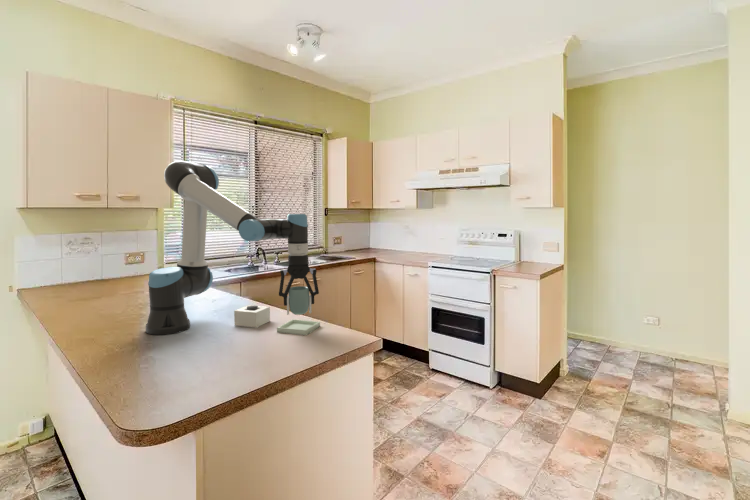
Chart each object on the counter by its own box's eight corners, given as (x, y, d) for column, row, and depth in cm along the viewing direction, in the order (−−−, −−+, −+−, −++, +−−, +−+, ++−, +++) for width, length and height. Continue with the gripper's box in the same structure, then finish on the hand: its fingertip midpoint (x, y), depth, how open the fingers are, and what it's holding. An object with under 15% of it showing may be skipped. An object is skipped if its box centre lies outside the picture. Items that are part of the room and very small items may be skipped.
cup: (290, 317, 146) (289, 290, 146) (287, 312, 154) (287, 286, 153) (311, 315, 149) (310, 289, 148) (307, 310, 156) (307, 285, 155)
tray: (277, 332, 148) (276, 327, 148) (292, 323, 160) (292, 319, 159) (306, 335, 145) (306, 330, 144) (320, 326, 156) (320, 321, 156)
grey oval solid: (245, 322, 159) (244, 307, 158) (251, 319, 163) (250, 305, 162) (254, 322, 157) (253, 308, 157) (260, 320, 161) (259, 305, 161)
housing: (234, 325, 157) (234, 310, 156) (249, 318, 166) (248, 305, 166) (256, 327, 154) (256, 312, 153) (270, 320, 163) (269, 306, 163)
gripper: (270, 256, 143) (271, 317, 145) (326, 254, 148) (327, 313, 150) (270, 254, 150) (271, 312, 153) (324, 252, 155) (324, 309, 157)
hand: (299, 312), depth 151 cm, fingers closed on cup, 8 cm apart
